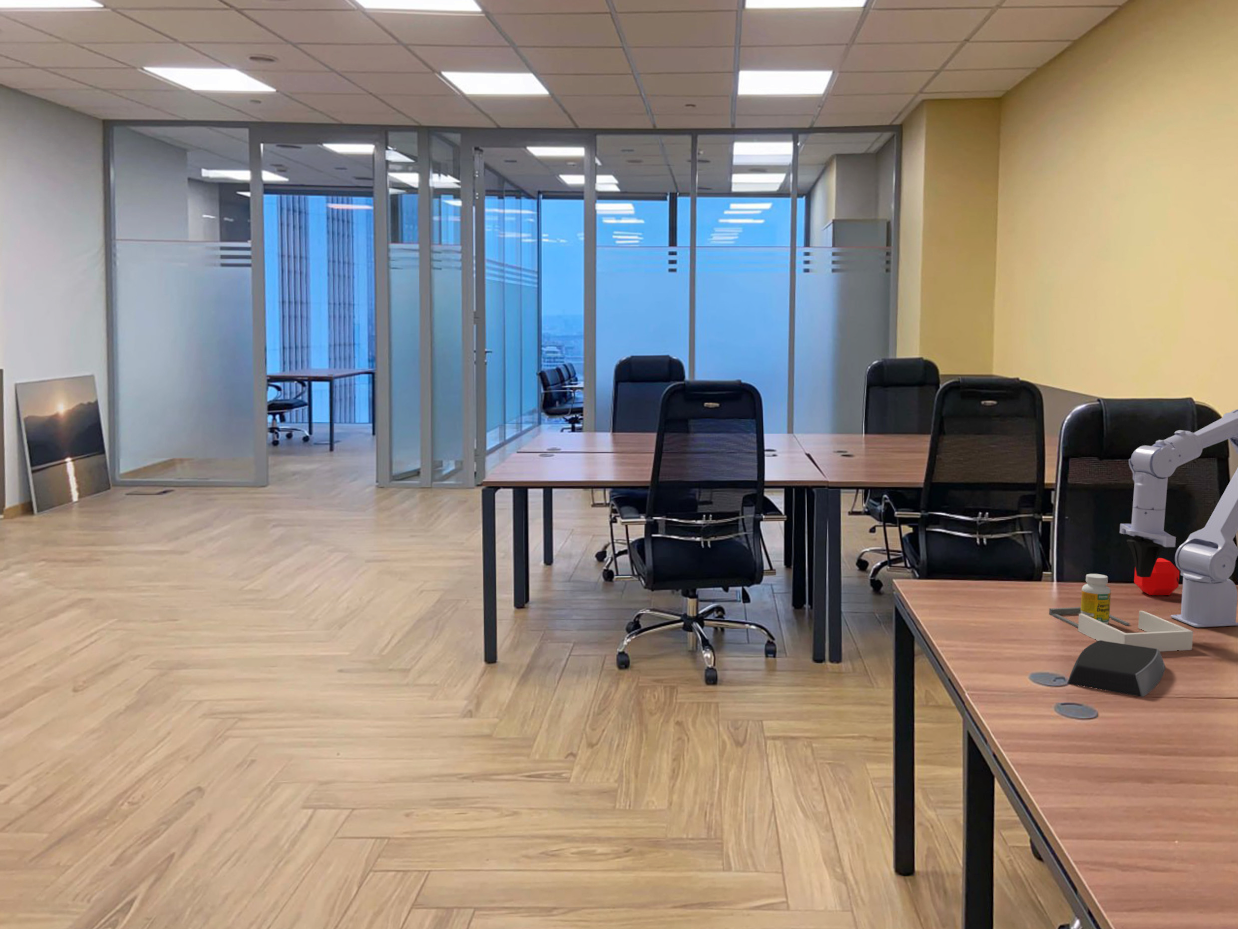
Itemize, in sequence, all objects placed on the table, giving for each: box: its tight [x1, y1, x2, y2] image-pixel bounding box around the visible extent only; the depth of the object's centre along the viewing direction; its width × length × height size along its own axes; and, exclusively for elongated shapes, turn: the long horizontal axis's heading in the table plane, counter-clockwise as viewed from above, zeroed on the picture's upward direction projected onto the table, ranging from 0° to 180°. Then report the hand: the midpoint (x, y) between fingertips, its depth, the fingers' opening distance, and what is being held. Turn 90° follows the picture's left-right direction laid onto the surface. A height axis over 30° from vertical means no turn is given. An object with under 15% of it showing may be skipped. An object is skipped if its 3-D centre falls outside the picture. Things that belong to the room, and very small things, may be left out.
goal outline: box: [1048, 606, 1130, 629], centre depth 222 cm, size 11×10×1 cm
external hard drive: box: [1067, 640, 1166, 698], centre depth 187 cm, size 13×19×4 cm
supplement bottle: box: [1080, 573, 1112, 625], centre depth 219 cm, size 5×5×10 cm
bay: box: [1077, 610, 1194, 652], centre depth 207 cm, size 14×15×4 cm
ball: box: [1133, 557, 1181, 596], centre depth 243 cm, size 8×8×8 cm
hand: (1143, 576), depth 214 cm, fingers closed
